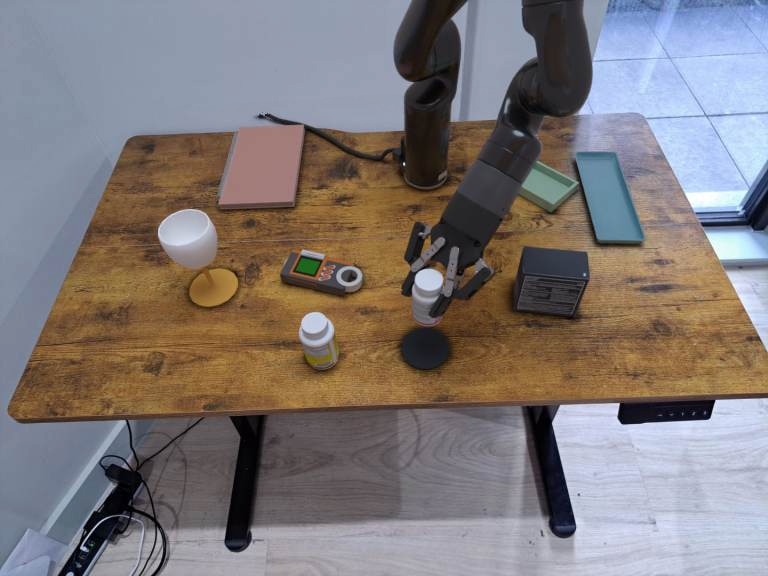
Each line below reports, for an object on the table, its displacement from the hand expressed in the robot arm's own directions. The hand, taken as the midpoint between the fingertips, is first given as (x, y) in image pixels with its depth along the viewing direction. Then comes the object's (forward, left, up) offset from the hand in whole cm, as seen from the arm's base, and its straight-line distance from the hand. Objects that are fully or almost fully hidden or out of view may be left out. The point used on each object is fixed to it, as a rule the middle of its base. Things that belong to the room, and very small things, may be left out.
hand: (419, 305), depth 73 cm
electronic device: (-24, 0, -14) cm, 28 cm away
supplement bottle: (-11, -11, -14) cm, 21 cm away
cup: (-37, -16, -14) cm, 43 cm away
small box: (+8, +24, -14) cm, 29 cm away
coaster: (0, +2, -14) cm, 14 cm away
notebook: (-59, +11, -14) cm, 62 cm away
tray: (-10, +48, -14) cm, 51 cm away
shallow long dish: (+2, +54, -14) cm, 55 cm away
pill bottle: (0, +2, -4) cm, 5 cm away
